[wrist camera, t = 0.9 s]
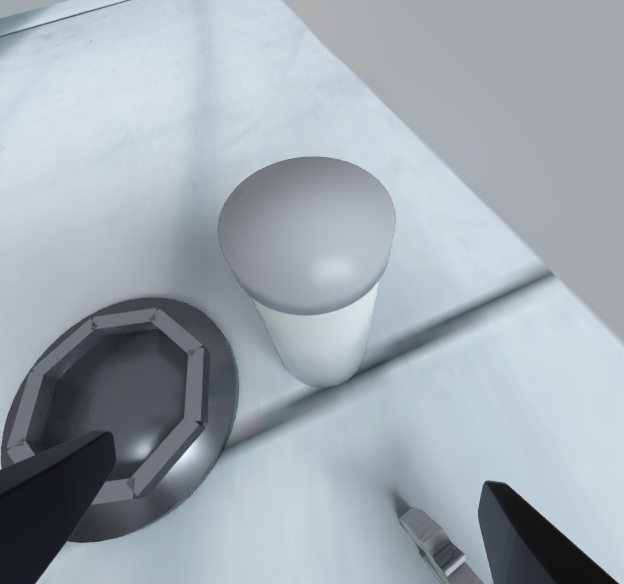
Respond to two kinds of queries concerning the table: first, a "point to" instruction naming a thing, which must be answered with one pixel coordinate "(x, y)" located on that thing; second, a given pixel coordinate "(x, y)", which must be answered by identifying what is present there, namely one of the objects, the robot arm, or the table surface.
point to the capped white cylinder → (311, 259)
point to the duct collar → (132, 407)
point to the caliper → (438, 549)
